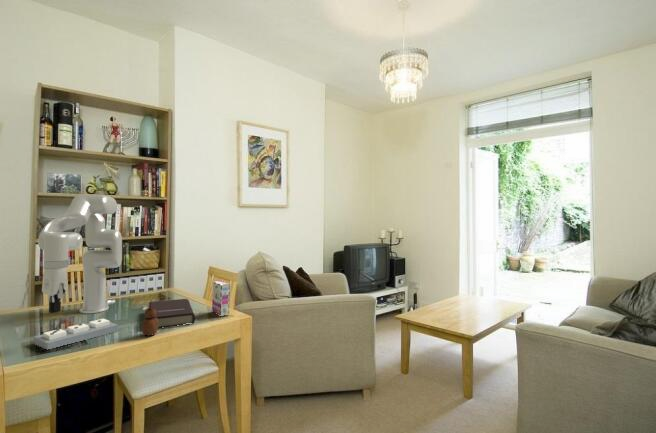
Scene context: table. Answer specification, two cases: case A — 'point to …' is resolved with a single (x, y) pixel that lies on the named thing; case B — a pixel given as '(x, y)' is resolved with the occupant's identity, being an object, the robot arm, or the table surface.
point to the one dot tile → (99, 323)
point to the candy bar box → (220, 297)
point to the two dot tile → (78, 328)
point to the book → (173, 312)
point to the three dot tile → (54, 334)
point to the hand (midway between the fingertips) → (54, 311)
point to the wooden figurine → (150, 321)
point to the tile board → (75, 336)
